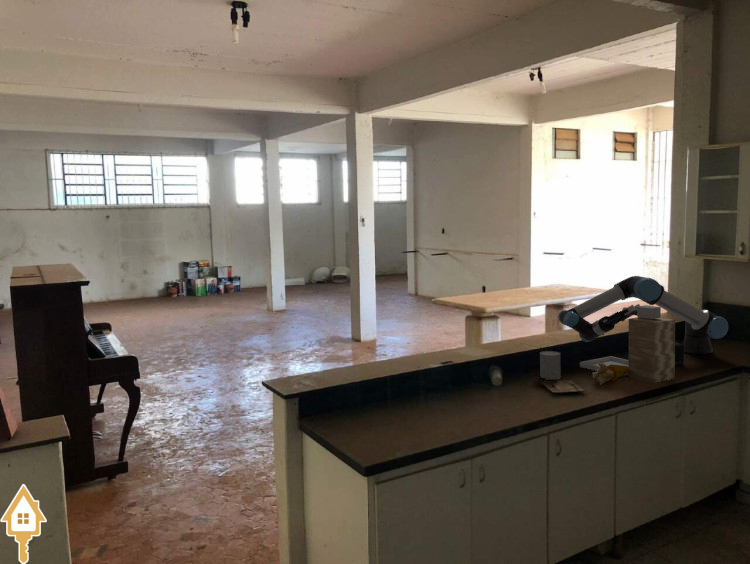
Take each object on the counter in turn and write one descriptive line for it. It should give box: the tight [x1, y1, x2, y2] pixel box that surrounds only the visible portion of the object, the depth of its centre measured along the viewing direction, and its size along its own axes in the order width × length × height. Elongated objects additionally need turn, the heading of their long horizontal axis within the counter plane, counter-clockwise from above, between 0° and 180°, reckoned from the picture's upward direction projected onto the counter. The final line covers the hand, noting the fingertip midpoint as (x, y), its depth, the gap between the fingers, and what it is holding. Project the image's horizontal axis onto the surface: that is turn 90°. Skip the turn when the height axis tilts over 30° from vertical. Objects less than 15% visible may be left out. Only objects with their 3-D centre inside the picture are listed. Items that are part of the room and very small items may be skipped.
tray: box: [579, 355, 629, 378], centre depth 302 cm, size 22×25×2 cm
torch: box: [591, 362, 629, 385], centre depth 281 cm, size 8×8×25 cm
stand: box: [628, 317, 676, 384], centre depth 282 cm, size 14×14×28 cm
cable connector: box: [621, 304, 662, 319], centre depth 286 cm, size 6×18×5 cm, turn 26°
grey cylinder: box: [539, 350, 562, 380], centre depth 289 cm, size 10×10×12 cm
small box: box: [675, 341, 685, 366], centre depth 308 cm, size 11×6×10 cm, turn 179°
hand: (636, 307), depth 287 cm, fingers closed on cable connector, 3 cm apart
